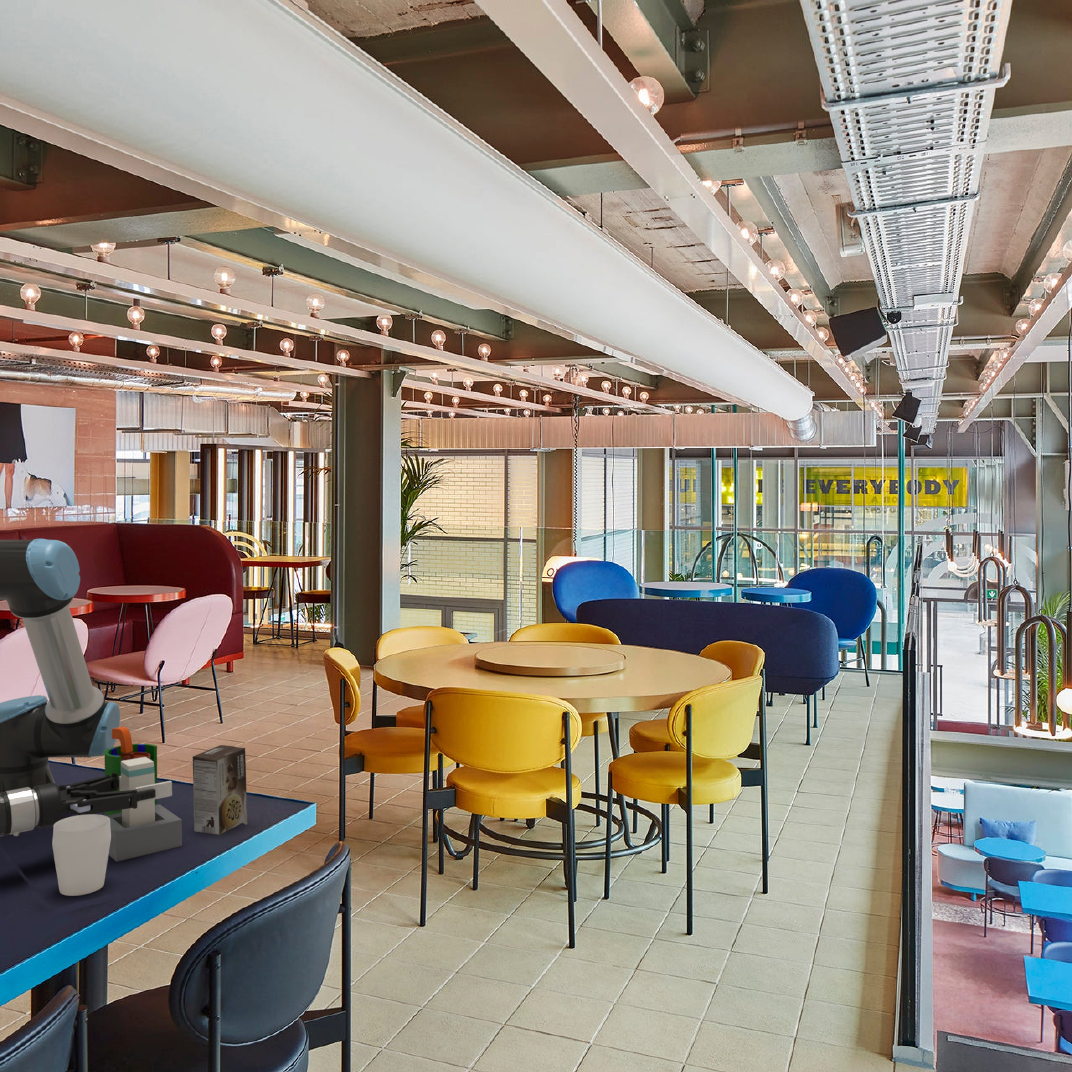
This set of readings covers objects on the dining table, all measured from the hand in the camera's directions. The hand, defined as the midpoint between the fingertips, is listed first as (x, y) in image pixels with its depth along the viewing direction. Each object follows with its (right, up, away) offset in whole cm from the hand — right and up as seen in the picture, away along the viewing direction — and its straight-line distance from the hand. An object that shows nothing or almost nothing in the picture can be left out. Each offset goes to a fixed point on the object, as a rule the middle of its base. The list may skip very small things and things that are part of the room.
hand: (162, 782), depth 185 cm
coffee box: (+9, -12, +8) cm, 17 cm away
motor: (-11, -12, +11) cm, 19 cm away
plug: (-4, -11, -2) cm, 12 cm away
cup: (-5, -13, -22) cm, 26 cm away
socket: (-3, -12, -2) cm, 13 cm away
